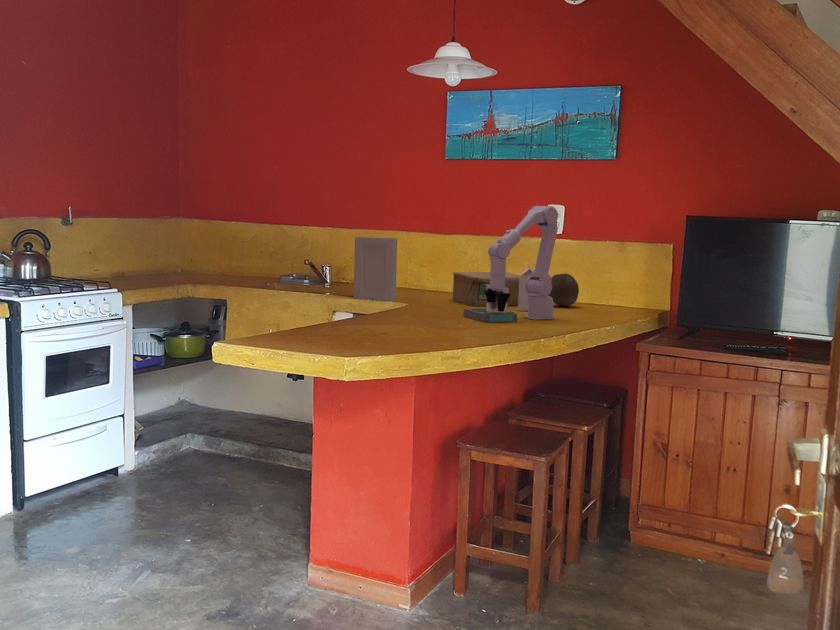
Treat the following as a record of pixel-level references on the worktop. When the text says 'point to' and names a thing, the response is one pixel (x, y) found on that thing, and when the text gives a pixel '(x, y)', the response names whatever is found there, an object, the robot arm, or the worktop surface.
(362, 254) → the grooved grey upright panel
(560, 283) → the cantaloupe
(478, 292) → the paper package
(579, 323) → the worktop surface
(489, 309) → the grey slab
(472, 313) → the slot rack
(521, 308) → the milk carton
